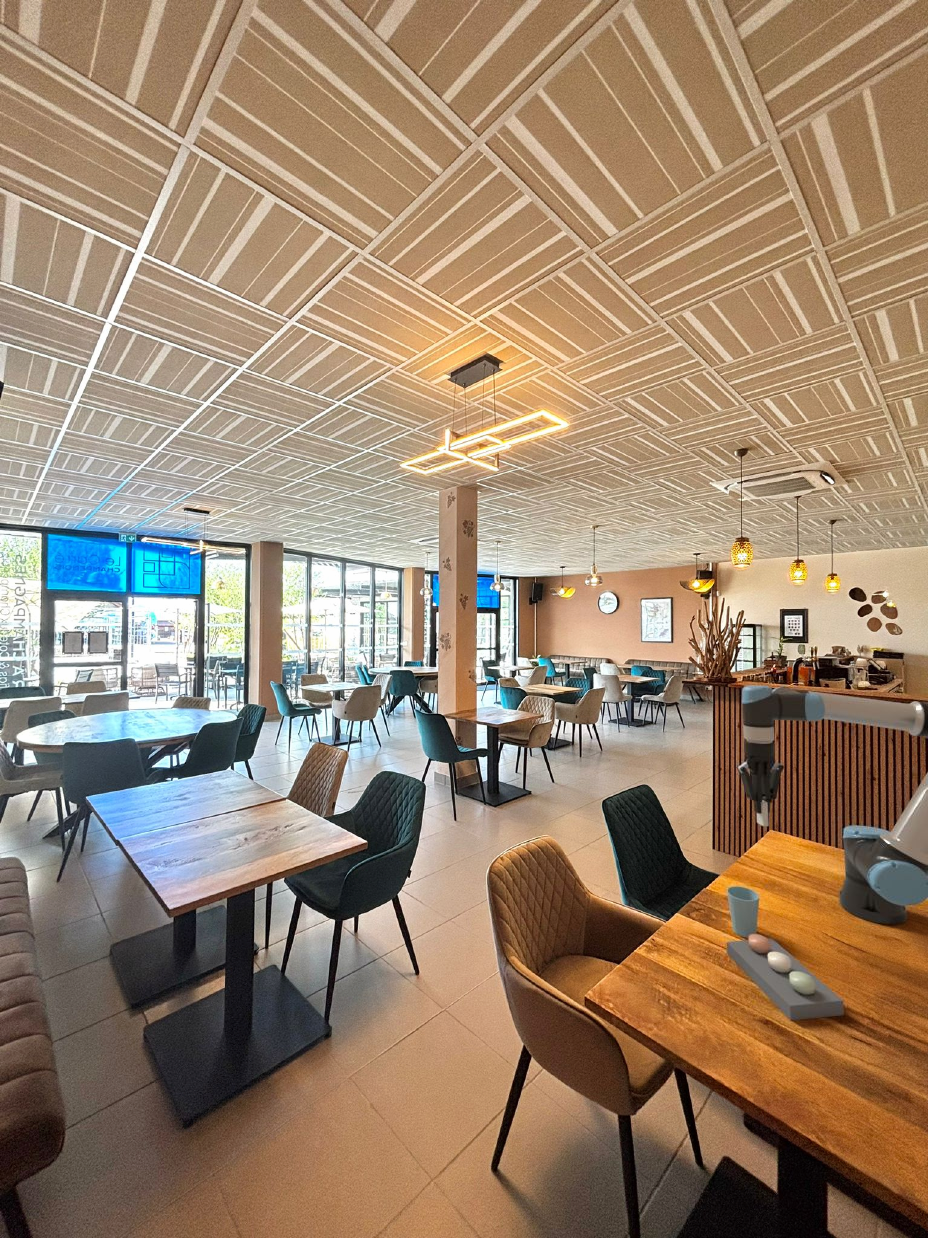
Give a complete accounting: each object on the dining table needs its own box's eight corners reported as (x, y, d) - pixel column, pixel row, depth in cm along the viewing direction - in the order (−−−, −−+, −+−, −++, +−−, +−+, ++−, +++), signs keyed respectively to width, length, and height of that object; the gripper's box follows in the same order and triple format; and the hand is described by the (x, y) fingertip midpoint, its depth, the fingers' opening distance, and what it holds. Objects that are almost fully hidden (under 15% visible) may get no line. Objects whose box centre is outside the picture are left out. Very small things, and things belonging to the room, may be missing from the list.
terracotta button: (762, 949, 127) (761, 933, 127) (775, 961, 122) (774, 944, 122) (745, 951, 126) (744, 935, 126) (757, 963, 122) (756, 946, 122)
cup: (767, 936, 134) (765, 896, 135) (748, 944, 131) (746, 903, 132) (741, 921, 141) (740, 883, 142) (722, 928, 138) (720, 890, 139)
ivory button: (782, 968, 120) (781, 951, 120) (796, 981, 115) (795, 963, 115) (764, 969, 119) (763, 952, 119) (777, 983, 115) (776, 965, 115)
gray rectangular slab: (771, 950, 129) (771, 938, 129) (844, 1015, 107) (843, 1000, 107) (727, 954, 128) (726, 942, 128) (790, 1020, 106) (789, 1006, 106)
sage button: (804, 988, 113) (803, 970, 113) (821, 1004, 108) (820, 985, 108) (785, 990, 112) (784, 972, 112) (800, 1006, 108) (799, 986, 108)
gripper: (771, 736, 148) (775, 818, 147) (729, 739, 147) (732, 821, 146) (790, 742, 140) (794, 828, 140) (745, 744, 139) (749, 831, 139)
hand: (762, 824), depth 143 cm, fingers closed
